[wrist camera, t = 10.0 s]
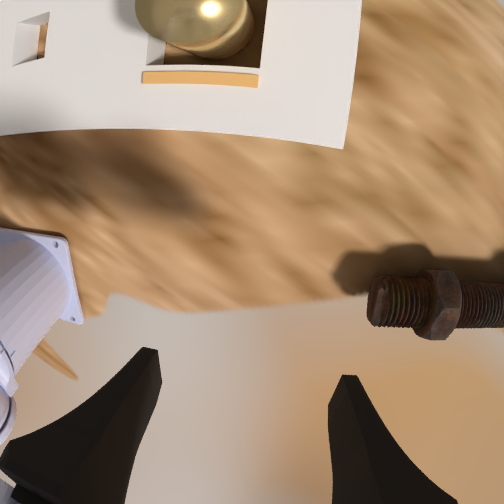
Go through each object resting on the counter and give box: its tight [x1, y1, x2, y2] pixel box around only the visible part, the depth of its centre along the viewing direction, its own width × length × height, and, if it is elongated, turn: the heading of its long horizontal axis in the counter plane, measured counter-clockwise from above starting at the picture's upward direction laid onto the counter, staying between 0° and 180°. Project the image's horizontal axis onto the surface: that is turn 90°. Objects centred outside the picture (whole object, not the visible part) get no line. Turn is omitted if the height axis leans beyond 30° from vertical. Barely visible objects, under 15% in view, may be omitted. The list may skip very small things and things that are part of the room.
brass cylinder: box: [135, 0, 254, 59], centre depth 11 cm, size 4×4×6 cm
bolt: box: [367, 269, 504, 340], centre depth 18 cm, size 6×5×15 cm
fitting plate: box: [0, 0, 362, 149], centre depth 13 cm, size 24×12×3 cm, turn 84°
